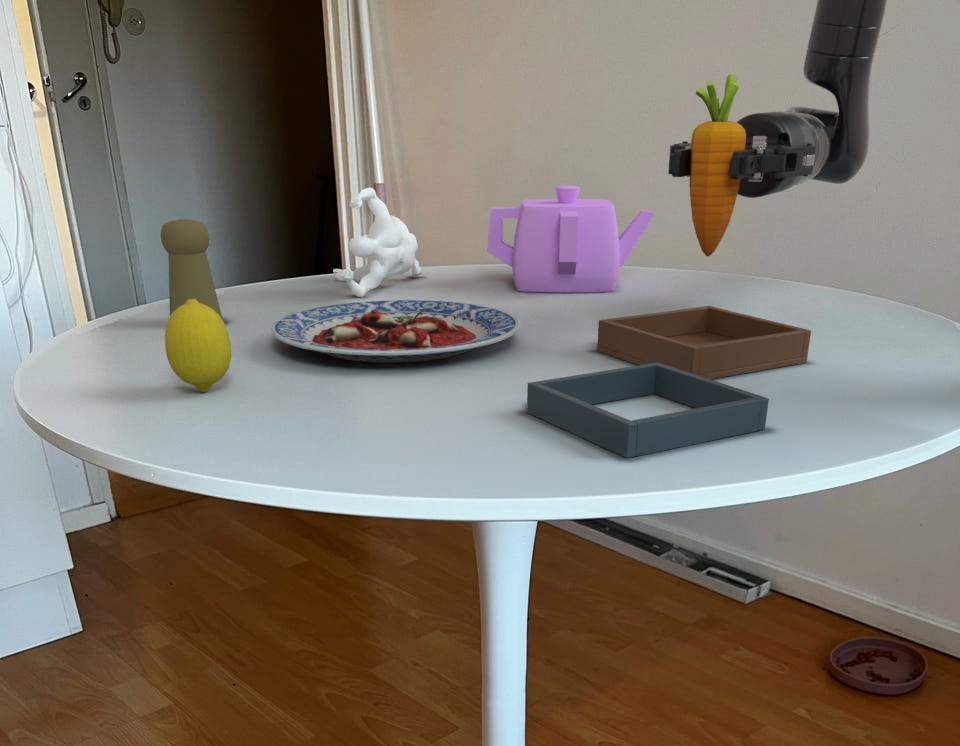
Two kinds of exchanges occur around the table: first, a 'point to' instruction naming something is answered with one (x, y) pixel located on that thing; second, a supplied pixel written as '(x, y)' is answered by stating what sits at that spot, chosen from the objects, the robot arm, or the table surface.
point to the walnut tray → (704, 341)
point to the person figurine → (379, 248)
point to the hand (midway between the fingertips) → (705, 164)
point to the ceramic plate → (395, 329)
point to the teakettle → (565, 243)
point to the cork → (188, 264)
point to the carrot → (714, 167)
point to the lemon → (197, 345)
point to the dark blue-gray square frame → (711, 420)
